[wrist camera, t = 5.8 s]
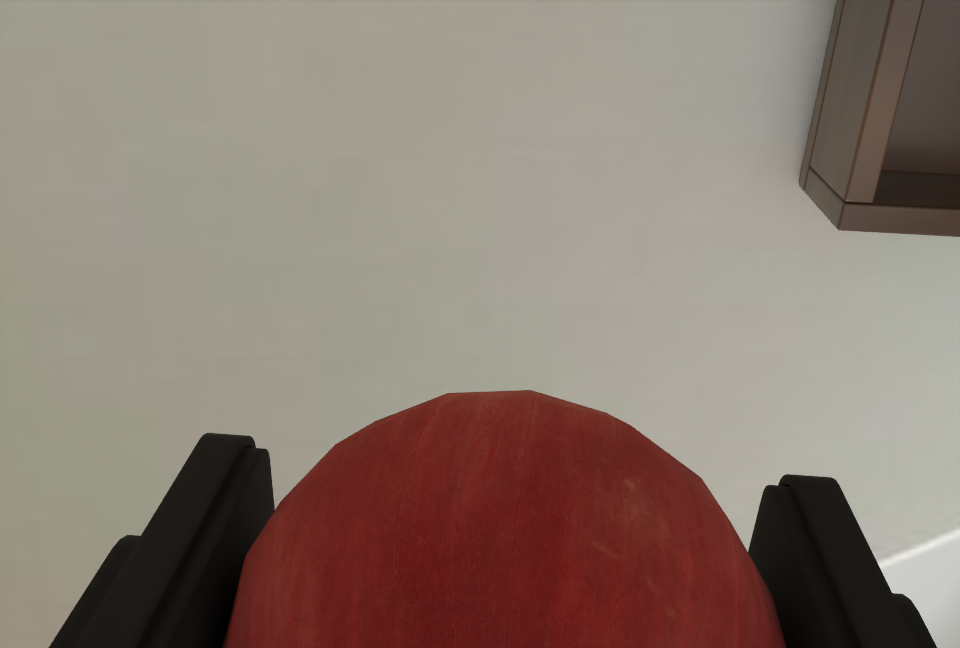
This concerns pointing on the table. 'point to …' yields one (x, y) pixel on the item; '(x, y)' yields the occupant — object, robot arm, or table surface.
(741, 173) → the table surface
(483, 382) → the table surface
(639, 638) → the red round fruit
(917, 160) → the organizer
